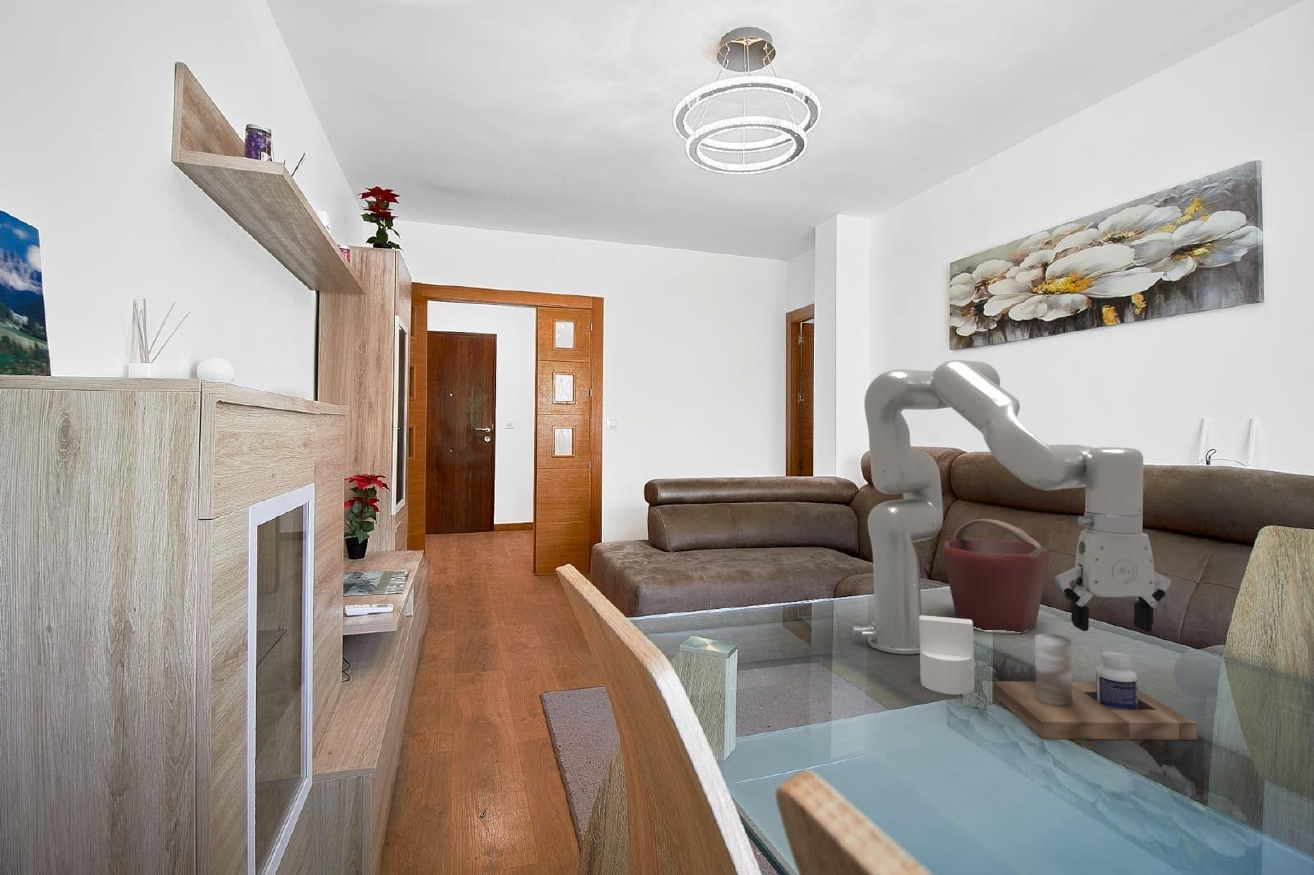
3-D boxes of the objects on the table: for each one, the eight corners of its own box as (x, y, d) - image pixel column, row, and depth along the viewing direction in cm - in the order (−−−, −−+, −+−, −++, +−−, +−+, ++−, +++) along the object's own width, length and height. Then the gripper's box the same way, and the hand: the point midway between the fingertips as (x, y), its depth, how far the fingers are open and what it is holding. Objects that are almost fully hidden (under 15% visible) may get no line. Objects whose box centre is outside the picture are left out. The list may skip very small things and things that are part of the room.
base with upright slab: (973, 679, 119) (972, 615, 119) (975, 697, 111) (973, 629, 111) (921, 673, 123) (920, 611, 123) (919, 690, 115) (917, 623, 115)
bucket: (1070, 638, 141) (1067, 526, 141) (970, 641, 141) (967, 528, 141) (1010, 609, 165) (1008, 513, 165) (925, 611, 166) (922, 515, 166)
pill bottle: (1145, 724, 99) (1144, 661, 99) (1107, 722, 101) (1105, 660, 101) (1127, 709, 105) (1125, 650, 105) (1091, 707, 106) (1089, 649, 106)
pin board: (1042, 738, 96) (1040, 655, 96) (993, 695, 112) (991, 624, 112) (1196, 739, 94) (1194, 655, 94) (1124, 696, 110) (1122, 623, 110)
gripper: (1071, 527, 99) (1069, 636, 100) (1187, 528, 98) (1185, 637, 99) (1044, 520, 107) (1043, 620, 107) (1152, 520, 106) (1150, 622, 106)
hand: (1111, 629), depth 103 cm, fingers open, 9 cm apart
